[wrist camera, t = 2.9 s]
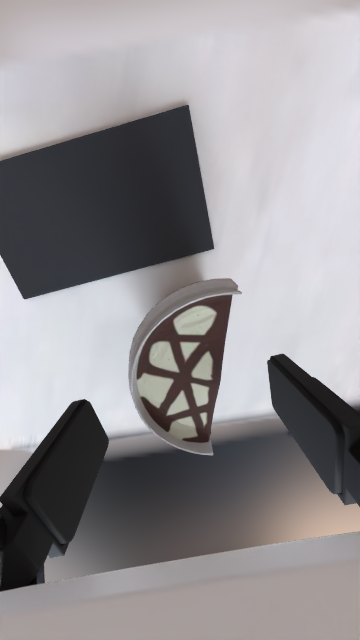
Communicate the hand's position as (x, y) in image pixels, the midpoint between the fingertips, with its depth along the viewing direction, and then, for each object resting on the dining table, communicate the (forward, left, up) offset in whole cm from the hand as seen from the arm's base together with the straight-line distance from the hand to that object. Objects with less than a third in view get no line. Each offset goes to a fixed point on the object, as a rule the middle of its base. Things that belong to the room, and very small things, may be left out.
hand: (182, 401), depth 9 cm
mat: (-4, +13, -11) cm, 17 cm away
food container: (0, 0, -12) cm, 12 cm away
